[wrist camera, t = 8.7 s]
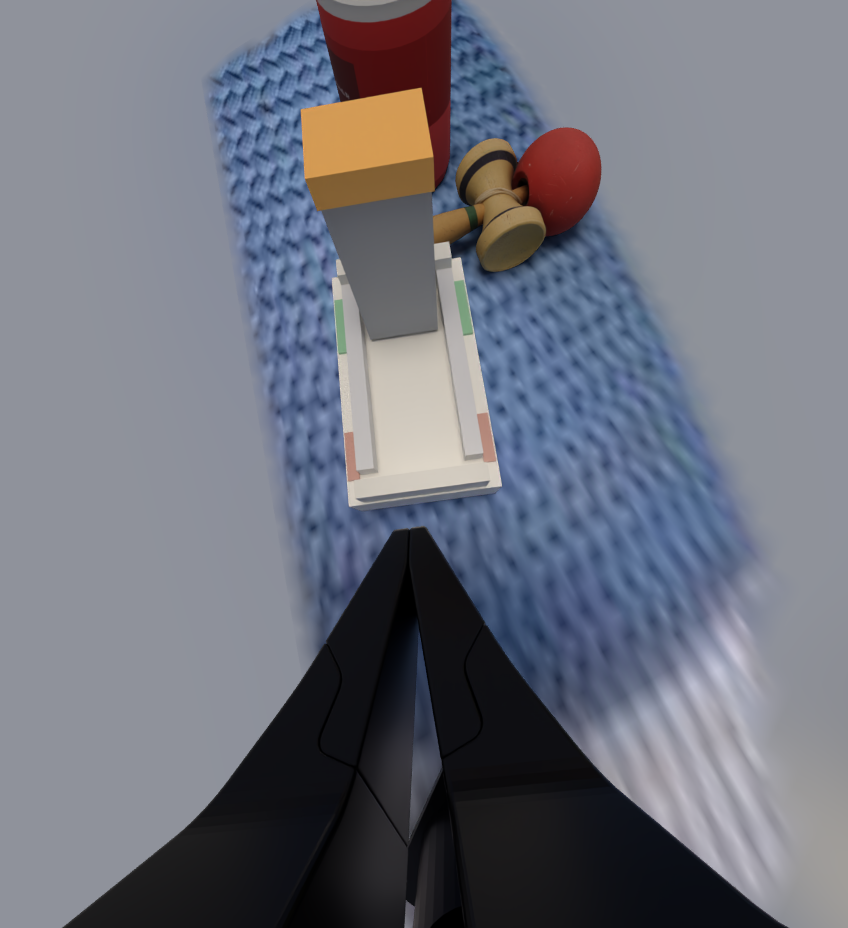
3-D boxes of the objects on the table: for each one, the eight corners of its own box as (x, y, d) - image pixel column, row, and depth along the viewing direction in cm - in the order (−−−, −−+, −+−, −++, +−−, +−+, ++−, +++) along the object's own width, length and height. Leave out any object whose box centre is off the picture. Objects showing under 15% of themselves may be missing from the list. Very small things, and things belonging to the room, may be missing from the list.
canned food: (467, 155, 29) (479, -68, 18) (413, 221, 28) (391, 22, 17) (396, 122, 31) (369, -104, 20) (341, 183, 29) (281, -22, 19)
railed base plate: (495, 493, 23) (507, 479, 18) (361, 511, 23) (338, 502, 18) (459, 289, 26) (461, 231, 21) (344, 306, 27) (321, 254, 22)
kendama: (388, 337, 27) (612, 241, 25) (354, 270, 22) (640, 137, 19) (369, 274, 31) (566, 184, 28) (334, 201, 25) (578, 80, 22)
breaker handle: (439, 332, 22) (433, 156, 12) (369, 342, 22) (304, 178, 12) (432, 287, 23) (421, 87, 13) (364, 297, 23) (300, 109, 13)
